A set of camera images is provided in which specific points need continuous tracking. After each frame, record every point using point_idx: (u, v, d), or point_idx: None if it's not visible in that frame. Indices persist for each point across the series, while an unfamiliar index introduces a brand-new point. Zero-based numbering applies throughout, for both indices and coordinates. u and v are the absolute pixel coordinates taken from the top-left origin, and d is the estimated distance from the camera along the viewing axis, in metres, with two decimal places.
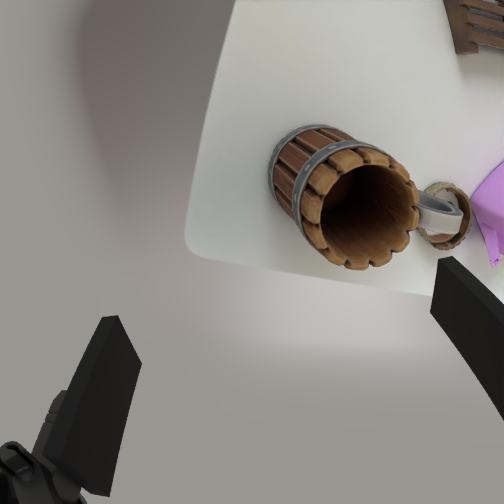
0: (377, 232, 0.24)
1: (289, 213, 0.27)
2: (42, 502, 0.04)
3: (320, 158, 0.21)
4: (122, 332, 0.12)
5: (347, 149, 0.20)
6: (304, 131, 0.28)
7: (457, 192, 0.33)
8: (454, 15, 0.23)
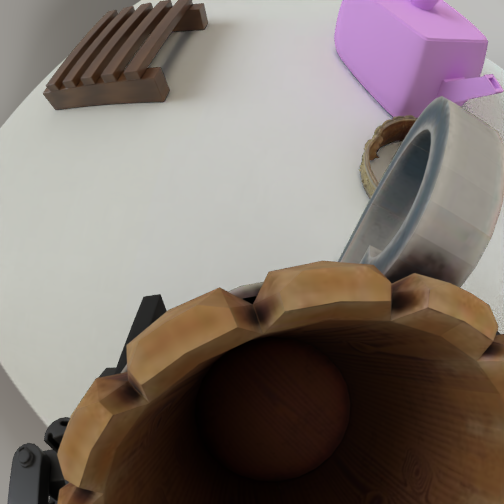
0: (434, 406, 0.06)
1: None
2: None
3: None
4: (164, 311, 0.13)
5: None
6: None
7: (380, 137, 0.20)
8: (111, 93, 0.24)
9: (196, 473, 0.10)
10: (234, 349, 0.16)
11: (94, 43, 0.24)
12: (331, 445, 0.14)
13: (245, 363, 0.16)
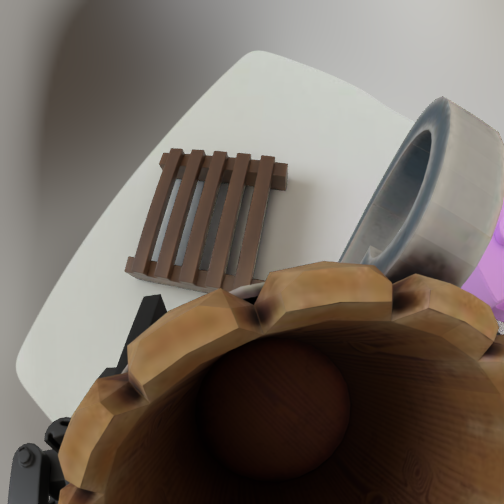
0: (434, 406, 0.06)
1: None
2: None
3: None
4: (164, 311, 0.13)
5: None
6: None
7: None
8: (211, 291, 0.30)
9: (196, 473, 0.10)
10: (234, 349, 0.16)
11: (175, 216, 0.30)
12: (331, 445, 0.14)
13: (245, 363, 0.16)
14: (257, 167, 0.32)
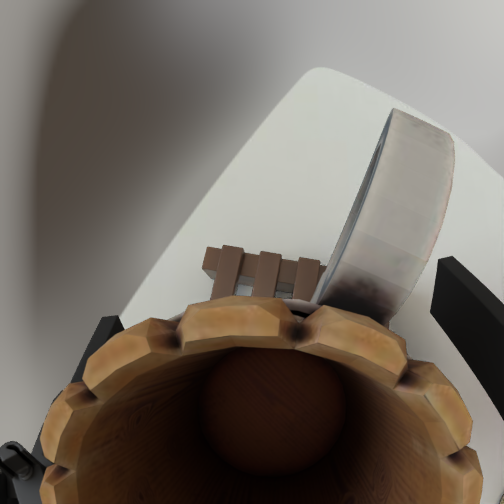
0: (390, 418, 0.07)
1: None
2: None
3: None
4: None
5: None
6: None
7: None
8: None
9: (190, 467, 0.11)
10: (234, 351, 0.17)
11: None
12: (328, 443, 0.15)
13: (244, 365, 0.17)
14: None
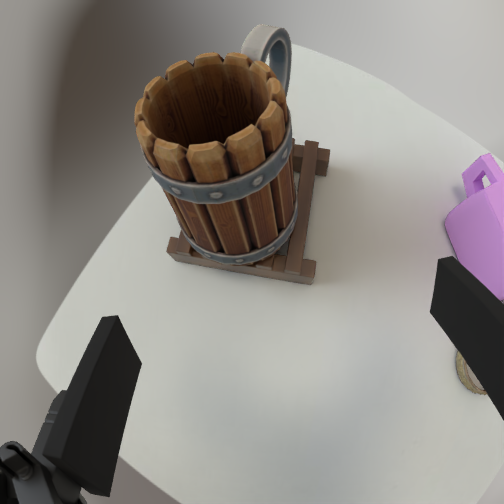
0: None
1: (233, 228, 0.21)
2: (42, 502, 0.04)
3: (142, 152, 0.17)
4: (122, 332, 0.12)
5: None
6: None
7: None
8: (258, 272, 0.30)
9: None
10: None
11: None
12: None
13: None
14: (301, 151, 0.32)
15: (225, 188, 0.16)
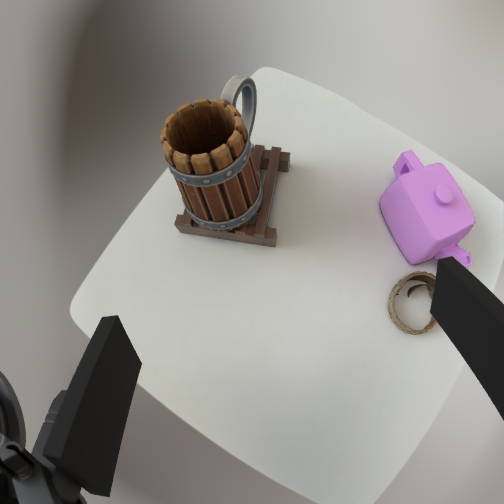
0: None
1: (217, 202, 0.34)
2: (42, 502, 0.04)
3: None
4: (122, 332, 0.12)
5: None
6: None
7: (400, 287, 0.39)
8: (237, 237, 0.44)
9: None
10: None
11: None
12: None
13: None
14: (269, 155, 0.46)
15: (211, 177, 0.30)
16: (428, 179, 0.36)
